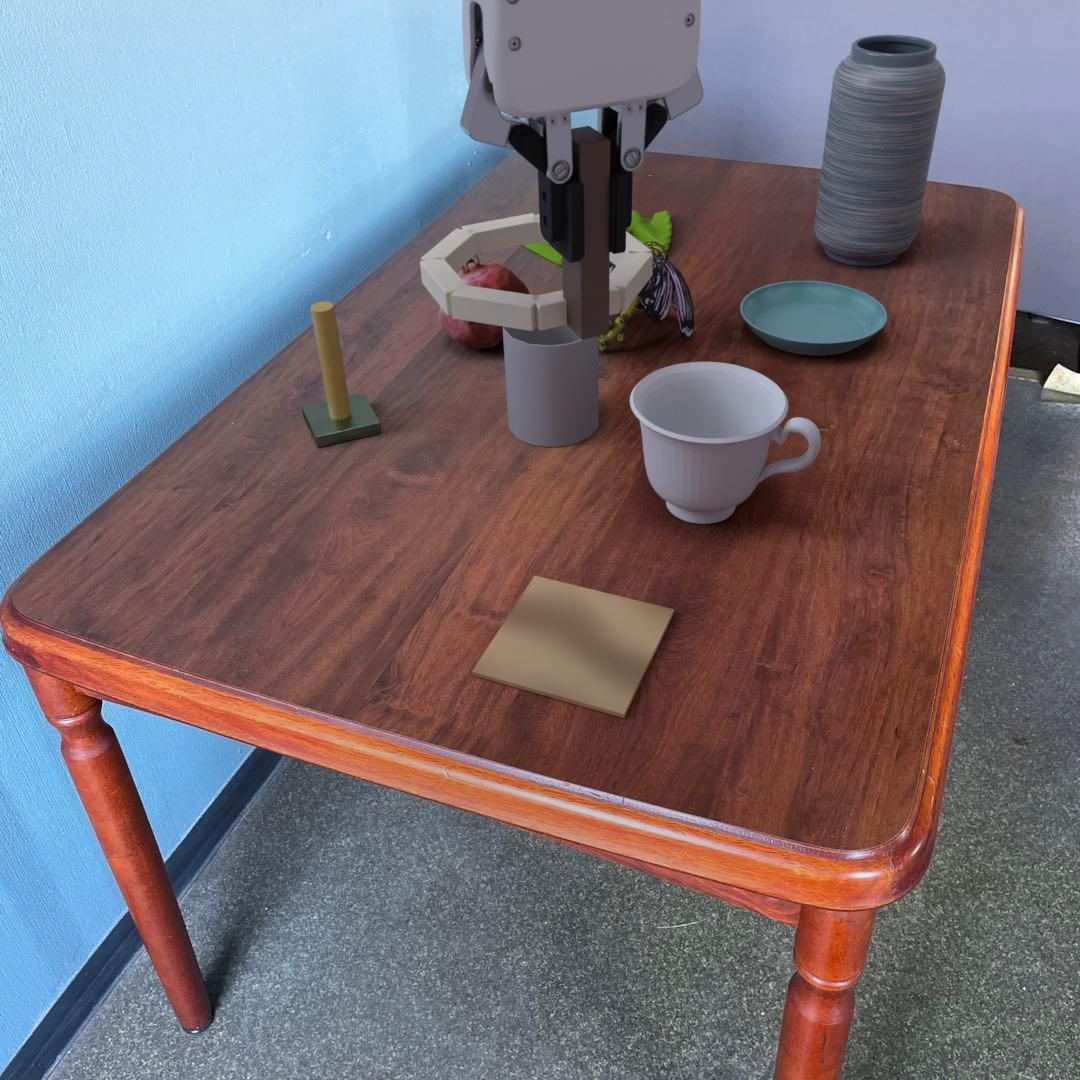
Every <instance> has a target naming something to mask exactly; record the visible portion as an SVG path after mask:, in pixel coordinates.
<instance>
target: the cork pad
mask: <svg viewBox="0 0 1080 1080" xmlns="http://www.w3.org/2000/svg"><path fill="white" fill-rule="evenodd" d="M675 611H676V610H675V609H674V608H670V607H666V606H662V605H658V604H654V603H649V602H646V601H641V600H637V599H634V598H629V597H626V596H621V595H616V594H612V593H610V592H609V593H608V592H604V591H600V590H597V589H593V588H589V587H584V586H580V585H577V584H572V583H568V582H564V581H559V580H556V579H551V578H547V577H543V576H539V575H533V578H532V579H531V581H529V584H528V585H527V587H526V588H525V589H524V591H523V593H522V594H521V596H519V599H518V601H517V602H516V603H515V605H514V607H513V608H512V609H511V611H510V612H509V614H508V616H507V617H506V619H505V621H504V622H503V624H502V625H501V626H500V628H499V630H498V631H497V632H496V634H495V635H494V637H493V639H492V640H491V642H490V643H489V645H488V646H487V648H486V649H485V650H484V652H483V654H482V655H481V657H480V658H479V660H478V661H477V662H476V665H475V666H474V667H473V669H472V671H471V675H472V676H474V677H476V678H481V679H484V680H488V681H490V682H493V683H494V682H495V683H498V684H501V685H505V686H509V687H512V688H515V689H519V690H522V691H527V692H530V693H532V694H536V695H541V696H544V697H548V698H551V699H555V700H559V701H562V702H564V703H568V704H572V705H577V706H580V707H583V708H586V709H590V710H593V711H597V712H601V713H604V714H608V715H611V716H615V717H619V718H621V719H625V718H626V716H627V713H628V712H629V709H630V707H631V706H632V703H633V701H634V699H635V697H636V694H637V693H638V690H639V689H640V686H641V685H642V683H643V680H644V677H645V676H646V674H647V672H648V670H649V668H650V665H651V664H652V661H653V659H654V657H655V655H656V653H657V651H658V649H659V647H660V645H661V642H662V641H663V639H664V637H665V634H666V632H667V630H668V627H669V625H670V623H671V622H672V619H673V617H674V615H675Z"/></svg>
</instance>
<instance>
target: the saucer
mask: <svg viewBox="0 0 1080 1080" xmlns="http://www.w3.org/2000/svg"><path fill="white" fill-rule="evenodd" d="M739 312H740V314H741V316H742V319H743V321H744V322H745V323H746V325H747V326H748V327H749V329H750V330H751V331H752V332H753V333H754V334H755V335H756V336H757V337H758V338H759V339H761V340H762V341H763V342H765V343H766V344H768V345H769V346H771V347H772V348H775V349H778V350H781V351H784V352H787V353H791V354H796V355H800V356H801V355H803V356H815V357H818V356H819V357H821V356H822V357H823V356H833V355H834V356H835V355H840V354H844V353H846V352H850V351H852V350H854V349H856V348H858V347H861V345H864V344H865V343H866V342H868V341H869V340H871V339H872V338H874V337H875V336H876V335H877V334H878V333H879V332H880V331H881V330H882V329H883V328H885V327H884V326H886V324H887V322H888V313H887V310H886V308H885V307H884V305H883V304H882V303H881V302H880V301H879V300H877V299H876V298H875V297H873V296H872V295H870V294H867V293H866V292H864V291H862V290H859V289H856V288H854V287H850V286H847V285H843V284H837V283H833V282H828V281H820V280H788V281H787V280H786V281H779V282H775V283H770V284H765V285H764V286H760V287H758V288H756V289H754V290H752V291H751V292H749V293H748V294H746V295H745V297H743V299H742V300H741V301H740V304H739Z"/></svg>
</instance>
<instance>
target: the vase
mask: <svg viewBox="0 0 1080 1080" xmlns="http://www.w3.org/2000/svg"><path fill="white" fill-rule="evenodd" d="M937 51H938V47H937V44H936V43H935V42H933V41H932V40H929V39H926V38H923V37H919V36H911V35H901V34H878V35H876V34H875V35H869V36H864V37H861V38H858V39H856V40H854V41H852V44H851V46H850V54H849V55H847V56H846V57H844V58H843V59H842V60H841V61H840V62H839V64H838V65H837V66H836V69H835V70H834V74H833V77H832V84H831V90H830V91H831V92H830V99H829V108H828V115H827V121H826V122H827V123H826V130H825V139H824V146H823V154H822V162H821V170H820V175H819V185H818V191H817V201H816V206H815V207H816V209H815V215H814V222H813V231H814V235H815V238H816V240H817V242H818V243H819V244H820V246H821V247H822V248H823V252H824V253H825V255H826V256H828V258H830V259H832V260H834V261H835V262H838V263H842V264H845V265H849V266H857V267H877V266H884V265H887V264H891V263H892V262H895V261H896V260H897V259H898V258H899V256H900V254H903V253H904V252H905V251H906V250H907V249H908V248H910V247H911V245H912V244H913V242H914V241H915V239H916V236H917V232H918V228H919V223H920V218H921V212H922V208H923V201H924V198H925V197H924V196H925V192H926V186H927V180H928V176H929V171H930V165H931V159H932V155H933V154H932V153H933V149H934V145H935V144H934V143H935V139H936V133H937V129H938V123H939V118H940V112H941V107H942V102H943V96H944V92H945V87H946V72H945V68H944V66H943V65H942V63H941V62H940V60H938V59H937V58H936V57H937Z"/></svg>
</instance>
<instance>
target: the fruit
mask: <svg viewBox="0 0 1080 1080" xmlns="http://www.w3.org/2000/svg"><path fill="white" fill-rule="evenodd" d="M460 269H461V270H459V272H458V271H457V272H456V273H457V274H458V275H459V277H460V278H461V279H462V280H463V281H464V282H465V284H466V285H468V286H475V287H482V288H488V289H495V290H502V291H509V292H515V293H522V294H529V295H531V294H530V291H529V288H528V287H527V285H526V284H525V283H524V281H522V279H521V278H519V277H518V276H517V275H516V274H515V273H514V272H513V271H512V270H511V269H509V268H508V267H506V266H504V265H501V264H499V263H496V262H487V263H480V260H479V256H478V254H476V255H475V256H473V257H472V258H471V259H470V260H469V261H468V262H467V263H466V264H465V265H463V266H462V267H461V268H460ZM438 316H439V317H438V318H439V322H440V324H441V326H442V327H443V330H444V331H445V332H446V334H447V336H449V337H450V339H451V340H453V342H456V343H458V344H459V345H462V346H465V347H467V348H470V349H475V350H476V349H477V350H478V349H479V350H480V349H481V350H483V349H490V348H494V347H495V346H497V345H499V344H501V343H502V342H504V340H503V326H497V325H491V324H484V323H478V322H472V321H466V320H459V319H453V315H447V314H446V313H445V311H444V310H443V309H442V308H441V306H440V305H439V312H438Z"/></svg>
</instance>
